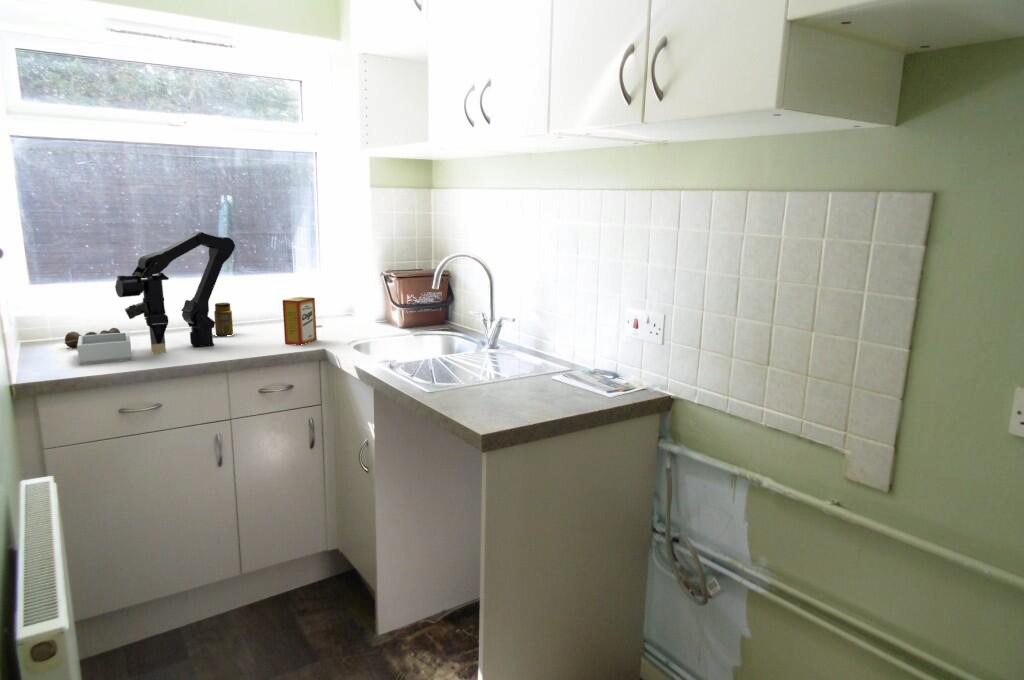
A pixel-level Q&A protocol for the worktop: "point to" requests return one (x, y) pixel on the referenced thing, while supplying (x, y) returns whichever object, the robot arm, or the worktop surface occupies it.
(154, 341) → the block
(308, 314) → the baking soda box
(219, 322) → the condiment
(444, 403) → the worktop surface
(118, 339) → the walled box
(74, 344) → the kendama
